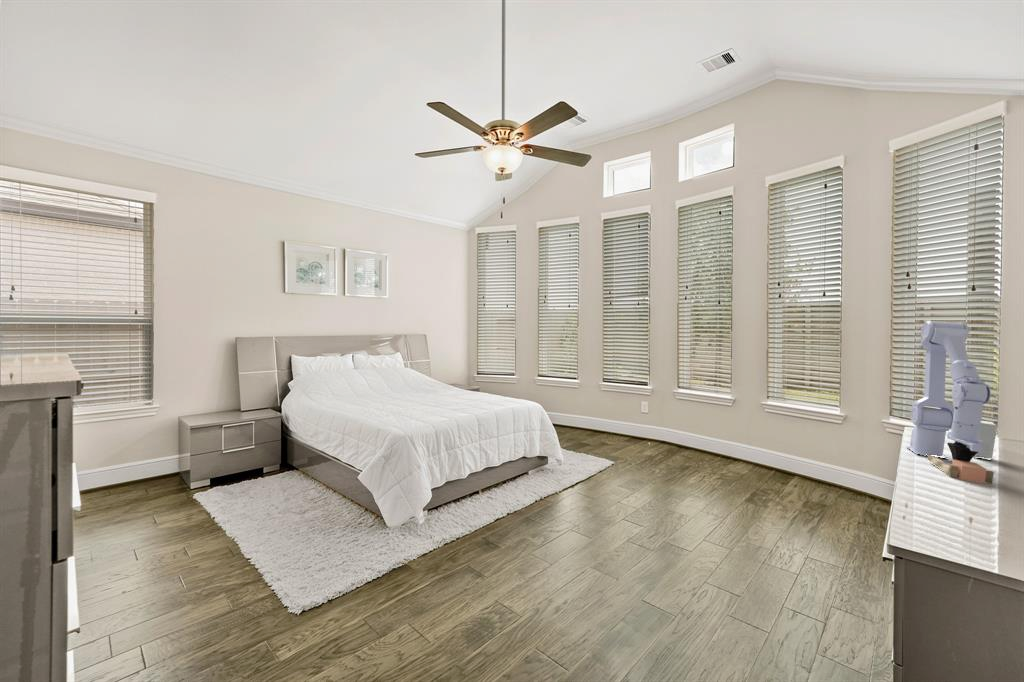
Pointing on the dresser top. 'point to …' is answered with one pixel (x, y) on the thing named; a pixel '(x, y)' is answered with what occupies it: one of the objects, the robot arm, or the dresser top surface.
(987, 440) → the skincare box
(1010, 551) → the dresser top surface
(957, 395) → the robot arm
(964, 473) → the block
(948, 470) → the chute
